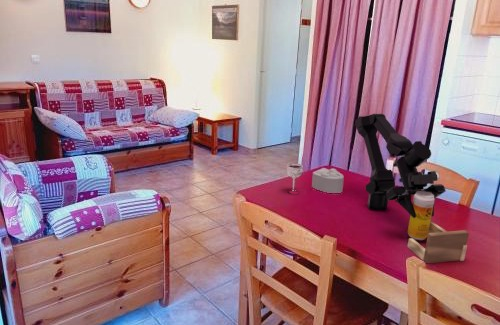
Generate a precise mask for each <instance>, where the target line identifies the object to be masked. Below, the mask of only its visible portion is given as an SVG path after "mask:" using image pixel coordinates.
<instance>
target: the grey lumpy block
mask: <svg viewBox="0 0 500 325" xmlns="http://www.w3.org/2000/svg"><path fill="white" fill-rule="evenodd" d="M344 179H345V178H344V174H342V173H340V171H338V170H337V169H336V168H330V169H328V168H325V167H322V168H319V169H318V170H315V171H313V172H312V180H311V188H312V187H313V188H315V189H317V190H320V191H323V192H327V193H341V192H342V193H343V188H344ZM342 193H341V194H342Z"/></svg>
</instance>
